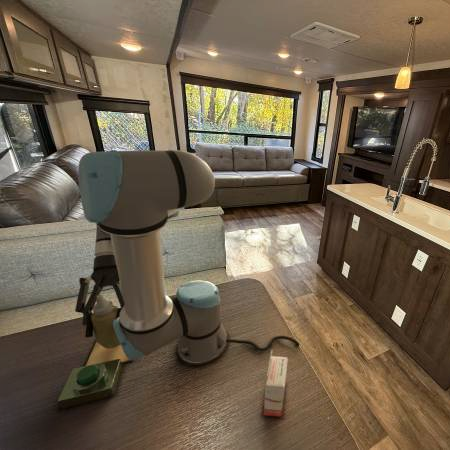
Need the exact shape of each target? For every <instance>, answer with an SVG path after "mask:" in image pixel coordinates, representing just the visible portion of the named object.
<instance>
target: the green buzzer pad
mask: <svg viewBox="0 0 450 450" xmlns="http://www.w3.org/2000/svg"><path fill="white" fill-rule="evenodd" d="M93 365H94V366H96V367H97V370H98V376H97V378H96V379H95V380H94V381H92V382H90V383H89V384H86V385H81V384H79V382H78V379H77V374H78V373H79V371H80V370H82V369H83V368H85V367H87V366H86V365H83V366H80V367H74V368H72V371H71V372H70V375H69V376H68V379H67V380H66V383H65V385H64V387H63V389H62V391H61V393H60V395H59V397H58V400H57V404H58V406H59V407H60V409H66V408H69V407H73V406H77V405H80V404H85V403H89V402H92V401H93V402H94V401H97V400H100V399H104V398H108V397H113V396H114V395H115V392H116V388H117V385H118V382H119V379H120V375H121V371H122V368H123V363H122V362H121V359H116V360H111V361H107V362H102V363H97V364H93ZM88 366H90V365H88Z"/></svg>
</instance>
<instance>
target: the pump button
mask: <svg viewBox="0 0 450 450" xmlns="http://www.w3.org/2000/svg"><path fill="white" fill-rule="evenodd" d="M97 376H98V370H97V367H96V366H94V365H90V366H87V367H85V368H83V369H82V370H80V371H79V373H78V374H77V379H78V382H79V384H81V385H86V384H89V383H90V382H92V381H94V380H95V379H96V378H97Z"/></svg>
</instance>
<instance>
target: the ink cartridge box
mask: <svg viewBox="0 0 450 450" xmlns="http://www.w3.org/2000/svg"><path fill="white" fill-rule="evenodd" d="M288 358H289V357H285V356H275V355H273V350H271V351H270V357H269V361H268V362H269V363H268V368H267V374H266V379H265V386H264V404H263V407H264V408H263V416H270V417H280V418H281V417H282V415H283V414H282V413H283V405H284V397H285V389H286V381H287V371H288V360H289V359H288Z"/></svg>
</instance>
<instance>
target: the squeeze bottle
mask: <svg viewBox="0 0 450 450" xmlns="http://www.w3.org/2000/svg"><path fill="white" fill-rule="evenodd" d="M118 308H119V307H118V306H117V305H115V304H114V303H113V301H111V300H106V298H104V296H103V294H99V295H98V296H97V301H96V303H95V305H94V307H93V310H92V313H93V314H92V316H91V320H92V325H93V336H94V339H95V343H96V342H97V343H99V344H100V345H101V346H103V347H104V348H106V349H111V348H115V347H117V346H119V345H120V342H119V340H118V338H117V336H116V333H115V330H114V327H113V321H114V320H115V319H117V309H118Z"/></svg>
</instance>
